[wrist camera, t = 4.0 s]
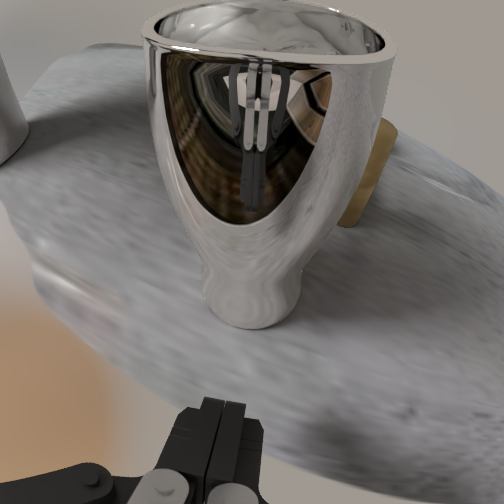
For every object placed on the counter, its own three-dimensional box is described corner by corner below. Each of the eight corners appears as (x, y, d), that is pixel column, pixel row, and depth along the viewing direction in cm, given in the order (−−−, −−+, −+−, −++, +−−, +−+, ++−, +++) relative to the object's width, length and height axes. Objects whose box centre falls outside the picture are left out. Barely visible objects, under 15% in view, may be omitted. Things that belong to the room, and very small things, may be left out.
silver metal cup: (173, 305, 18) (73, 50, 5) (226, 220, 21) (220, -11, 8) (281, 357, 16) (403, 108, 4) (322, 259, 20) (407, 28, 7)
